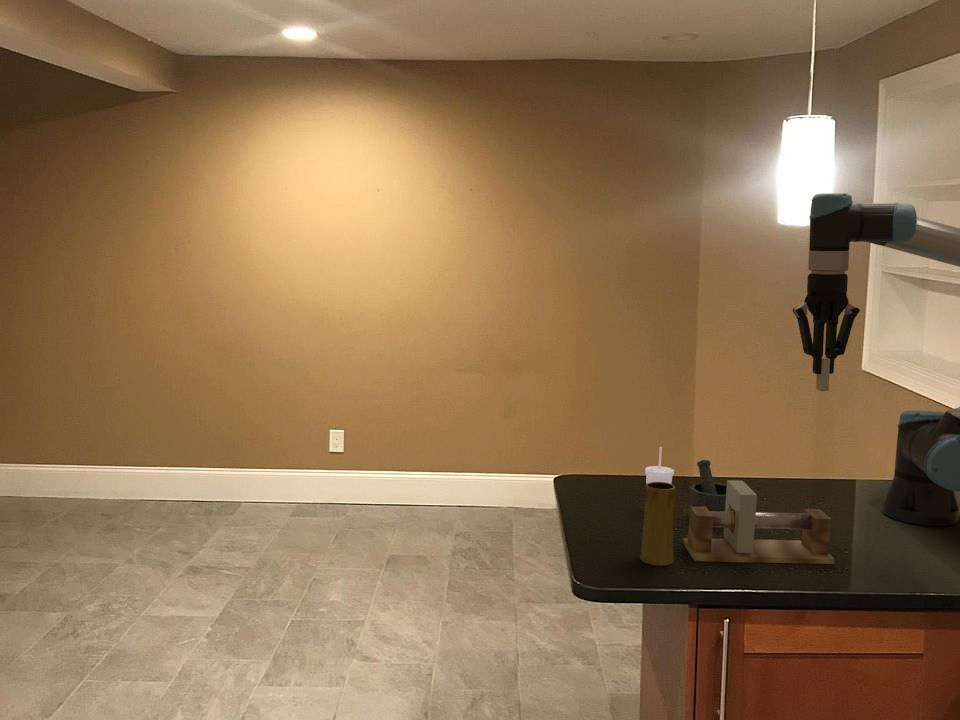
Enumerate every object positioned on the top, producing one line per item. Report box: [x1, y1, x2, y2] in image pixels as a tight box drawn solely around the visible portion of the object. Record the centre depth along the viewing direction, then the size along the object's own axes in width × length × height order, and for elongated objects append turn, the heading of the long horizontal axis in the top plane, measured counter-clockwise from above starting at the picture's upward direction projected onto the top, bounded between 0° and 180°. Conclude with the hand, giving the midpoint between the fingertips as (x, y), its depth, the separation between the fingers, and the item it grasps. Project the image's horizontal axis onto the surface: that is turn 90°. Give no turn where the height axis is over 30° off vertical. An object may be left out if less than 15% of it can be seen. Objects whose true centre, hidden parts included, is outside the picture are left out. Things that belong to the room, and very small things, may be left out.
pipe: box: [709, 510, 812, 530], centre depth 185 cm, size 23×4×4 cm, turn 91°
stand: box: [682, 505, 836, 565], centre depth 186 cm, size 26×10×8 cm, turn 91°
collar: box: [723, 479, 758, 553], centre depth 185 cm, size 3×10×11 cm, turn 1°
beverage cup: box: [644, 446, 675, 486], centre depth 211 cm, size 6×6×14 cm
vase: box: [639, 482, 676, 567], centre depth 180 cm, size 6×6×14 cm
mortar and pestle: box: [689, 459, 727, 511], centre depth 205 cm, size 11×9×12 cm
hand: (822, 389), depth 197 cm, fingers closed
